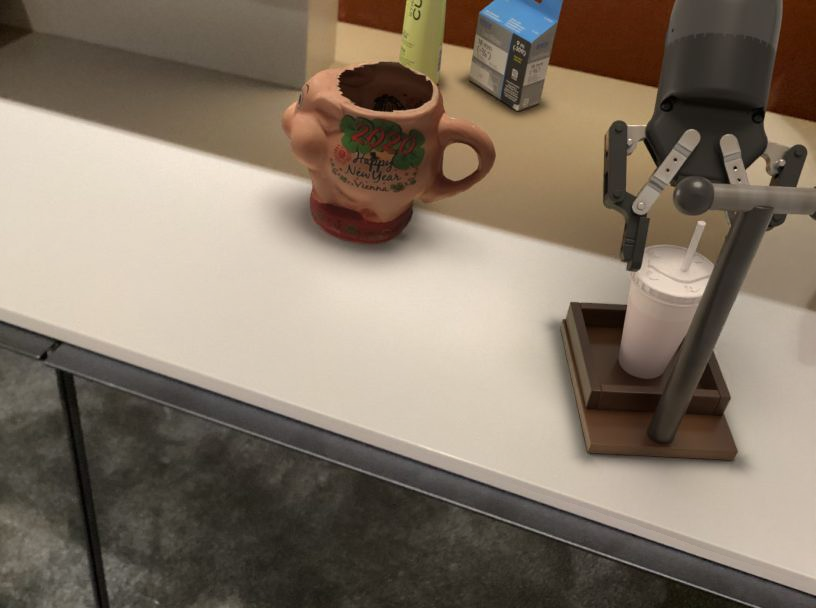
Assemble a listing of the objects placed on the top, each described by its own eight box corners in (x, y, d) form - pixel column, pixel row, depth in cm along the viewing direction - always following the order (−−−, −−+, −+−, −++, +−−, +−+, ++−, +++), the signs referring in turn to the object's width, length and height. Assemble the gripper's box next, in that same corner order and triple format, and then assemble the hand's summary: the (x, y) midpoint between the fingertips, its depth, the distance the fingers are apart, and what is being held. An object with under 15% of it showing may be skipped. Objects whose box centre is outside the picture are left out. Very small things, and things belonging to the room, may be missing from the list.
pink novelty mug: (488, 202, 96) (513, 71, 86) (471, 275, 88) (497, 139, 78) (295, 169, 99) (298, 40, 90) (261, 237, 91) (260, 101, 81)
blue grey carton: (466, 80, 114) (482, -25, 106) (491, 72, 116) (509, -32, 107) (516, 112, 109) (538, 5, 101) (542, 104, 111) (565, -3, 102)
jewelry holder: (688, 333, 83) (791, 82, 66) (734, 460, 72) (869, 199, 56) (559, 327, 83) (631, 74, 67) (587, 453, 73) (680, 190, 56)
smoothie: (679, 399, 76) (739, 257, 66) (596, 379, 77) (643, 237, 67) (684, 346, 80) (742, 206, 70) (606, 328, 81) (651, 188, 71)
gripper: (628, 16, 67) (587, 254, 67) (846, 42, 65) (802, 286, 65) (609, 55, 74) (571, 269, 75) (803, 79, 73) (765, 299, 73)
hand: (679, 276), depth 70 cm, fingers closed on smoothie, 6 cm apart
